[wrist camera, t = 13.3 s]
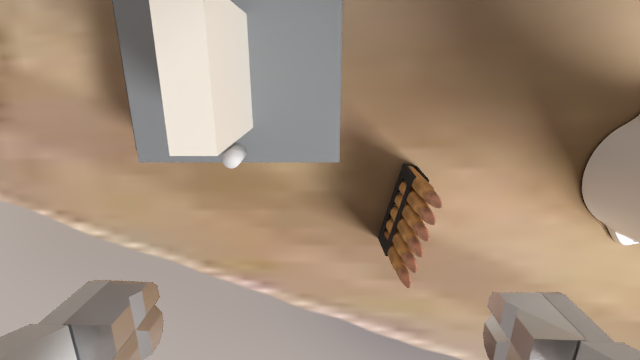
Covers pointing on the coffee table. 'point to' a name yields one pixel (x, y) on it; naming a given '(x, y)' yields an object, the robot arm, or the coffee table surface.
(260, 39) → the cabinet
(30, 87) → the coffee table surface
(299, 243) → the coffee table surface
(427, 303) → the coffee table surface
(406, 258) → the ammunition clip
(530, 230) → the coffee table surface
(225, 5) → the door panel
